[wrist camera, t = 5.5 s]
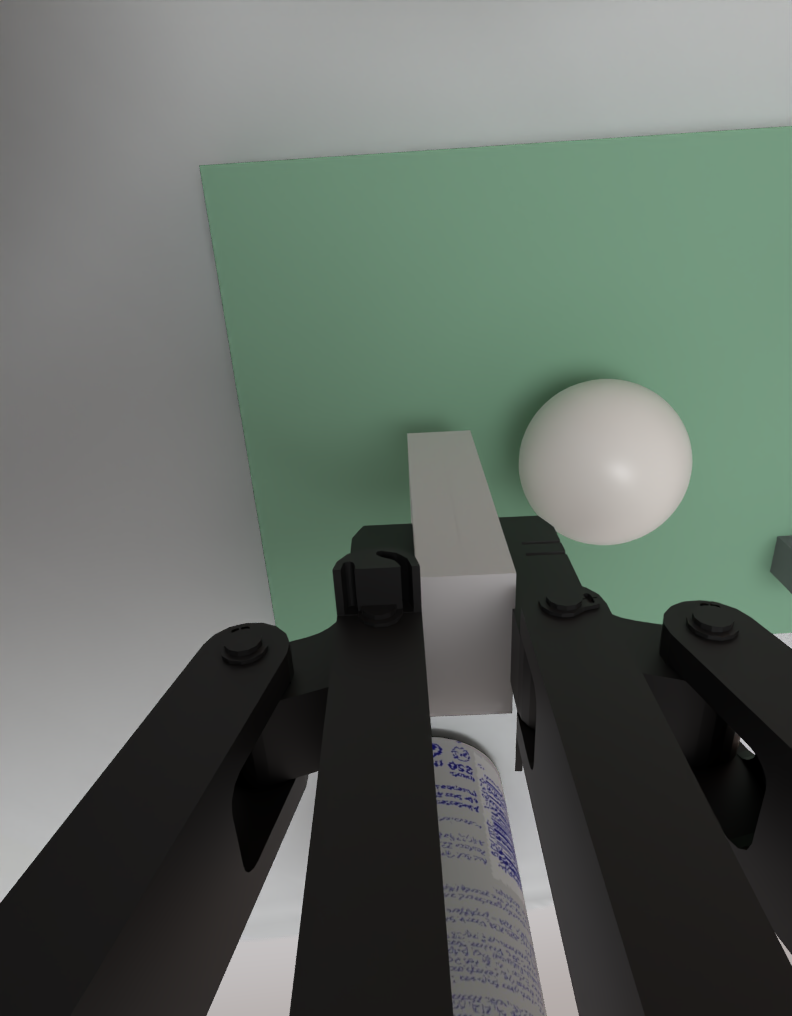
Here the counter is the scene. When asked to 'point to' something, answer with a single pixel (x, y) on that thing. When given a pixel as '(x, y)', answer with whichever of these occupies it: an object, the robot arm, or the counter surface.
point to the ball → (605, 461)
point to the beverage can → (482, 889)
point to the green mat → (513, 341)
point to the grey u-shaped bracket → (783, 561)
